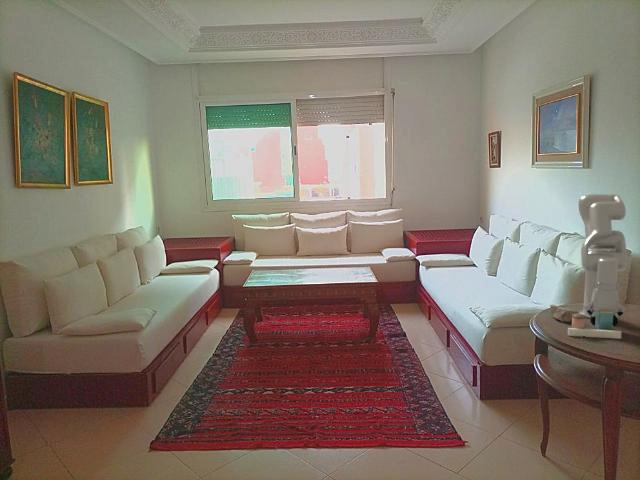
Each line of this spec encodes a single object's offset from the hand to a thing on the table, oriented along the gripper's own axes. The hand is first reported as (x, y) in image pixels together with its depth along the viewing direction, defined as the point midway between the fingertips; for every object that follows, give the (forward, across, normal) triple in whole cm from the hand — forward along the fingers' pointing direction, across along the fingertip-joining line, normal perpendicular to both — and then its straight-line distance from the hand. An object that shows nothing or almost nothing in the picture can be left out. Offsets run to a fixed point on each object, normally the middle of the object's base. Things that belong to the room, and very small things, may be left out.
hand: (603, 324), depth 216 cm
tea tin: (+2, 0, 0) cm, 2 cm away
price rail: (+2, +6, +10) cm, 12 cm away
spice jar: (+2, +12, +6) cm, 13 cm away
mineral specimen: (+2, +14, -11) cm, 18 cm away
